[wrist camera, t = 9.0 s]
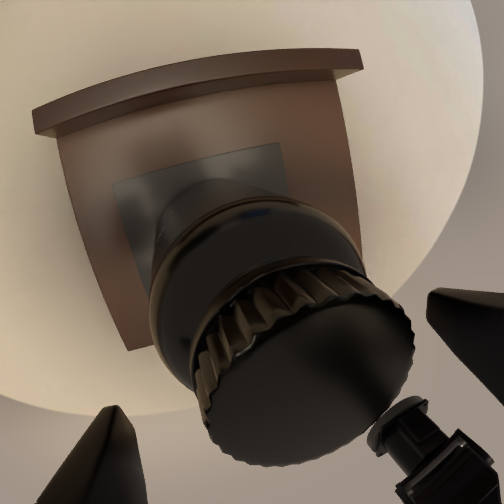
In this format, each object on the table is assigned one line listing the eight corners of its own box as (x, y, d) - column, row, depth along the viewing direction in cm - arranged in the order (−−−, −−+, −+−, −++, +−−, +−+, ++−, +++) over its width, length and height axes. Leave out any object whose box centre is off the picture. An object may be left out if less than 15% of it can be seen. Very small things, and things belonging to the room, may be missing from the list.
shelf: (352, 268, 21) (391, 291, 17) (129, 339, 18) (124, 382, 14) (320, 68, 17) (359, 49, 13) (61, 121, 14) (30, 110, 10)
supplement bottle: (131, 217, 15) (58, 351, 4) (249, 157, 16) (429, 157, 5) (192, 322, 17) (244, 513, 6) (295, 267, 18) (447, 391, 7)
